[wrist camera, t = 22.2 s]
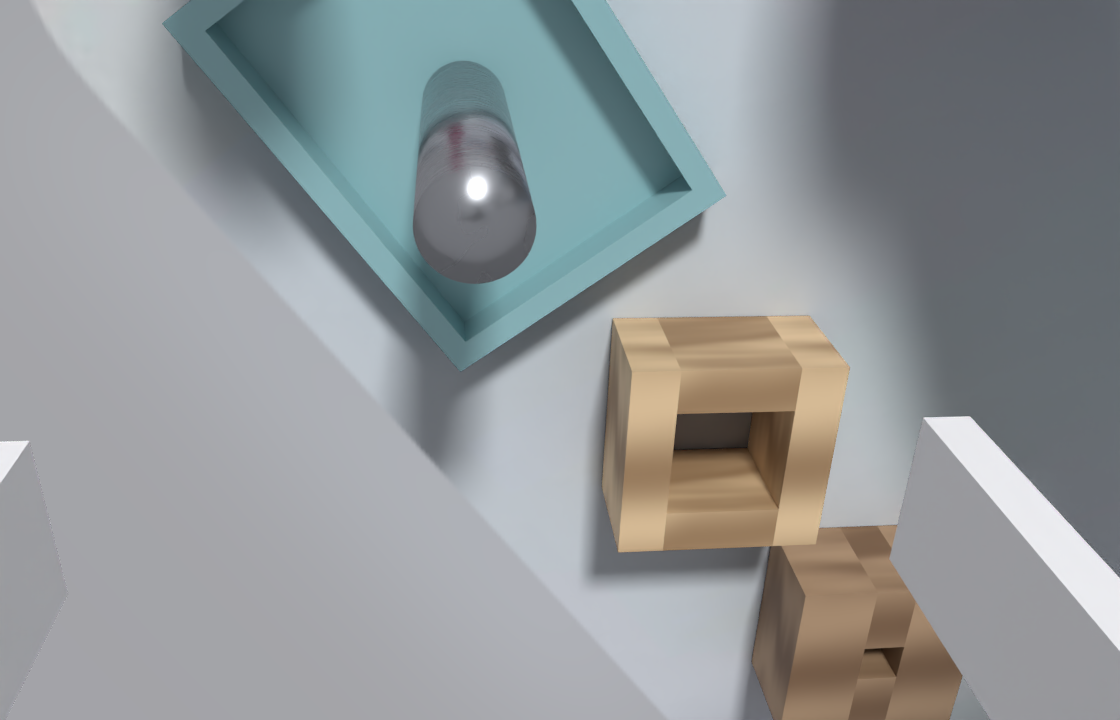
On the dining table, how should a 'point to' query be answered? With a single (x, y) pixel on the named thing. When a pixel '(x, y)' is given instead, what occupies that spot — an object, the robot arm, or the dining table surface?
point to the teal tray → (394, 128)
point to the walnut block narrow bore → (848, 635)
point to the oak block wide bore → (720, 474)
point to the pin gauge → (470, 179)
